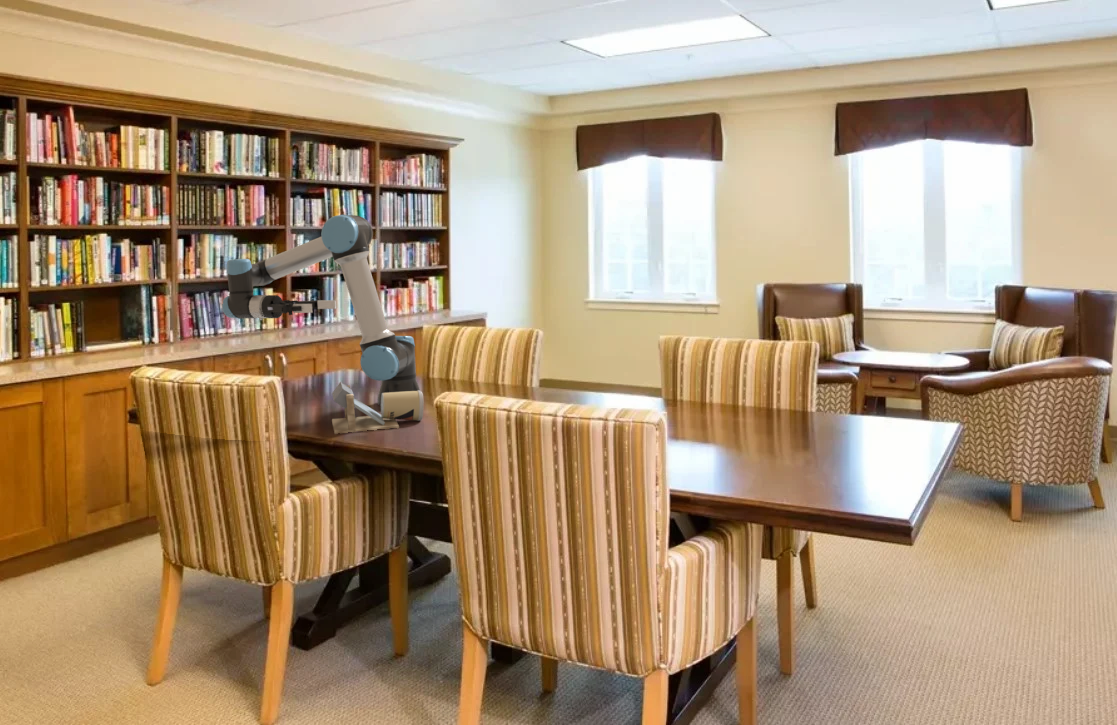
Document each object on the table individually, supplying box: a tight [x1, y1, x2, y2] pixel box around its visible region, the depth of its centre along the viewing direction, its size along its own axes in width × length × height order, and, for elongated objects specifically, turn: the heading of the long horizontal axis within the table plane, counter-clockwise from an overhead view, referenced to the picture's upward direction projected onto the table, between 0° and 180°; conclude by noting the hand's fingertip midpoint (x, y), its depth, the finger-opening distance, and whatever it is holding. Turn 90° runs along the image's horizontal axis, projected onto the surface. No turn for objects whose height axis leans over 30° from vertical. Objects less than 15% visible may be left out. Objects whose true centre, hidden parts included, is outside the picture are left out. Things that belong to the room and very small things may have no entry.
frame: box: [331, 384, 400, 435], centre depth 276 cm, size 18×19×11 cm
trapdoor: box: [331, 381, 385, 425], centre depth 275 cm, size 16×14×4 cm
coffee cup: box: [380, 390, 424, 422], centre depth 278 cm, size 9×9×12 cm
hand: (323, 306), depth 290 cm, fingers open, 13 cm apart
